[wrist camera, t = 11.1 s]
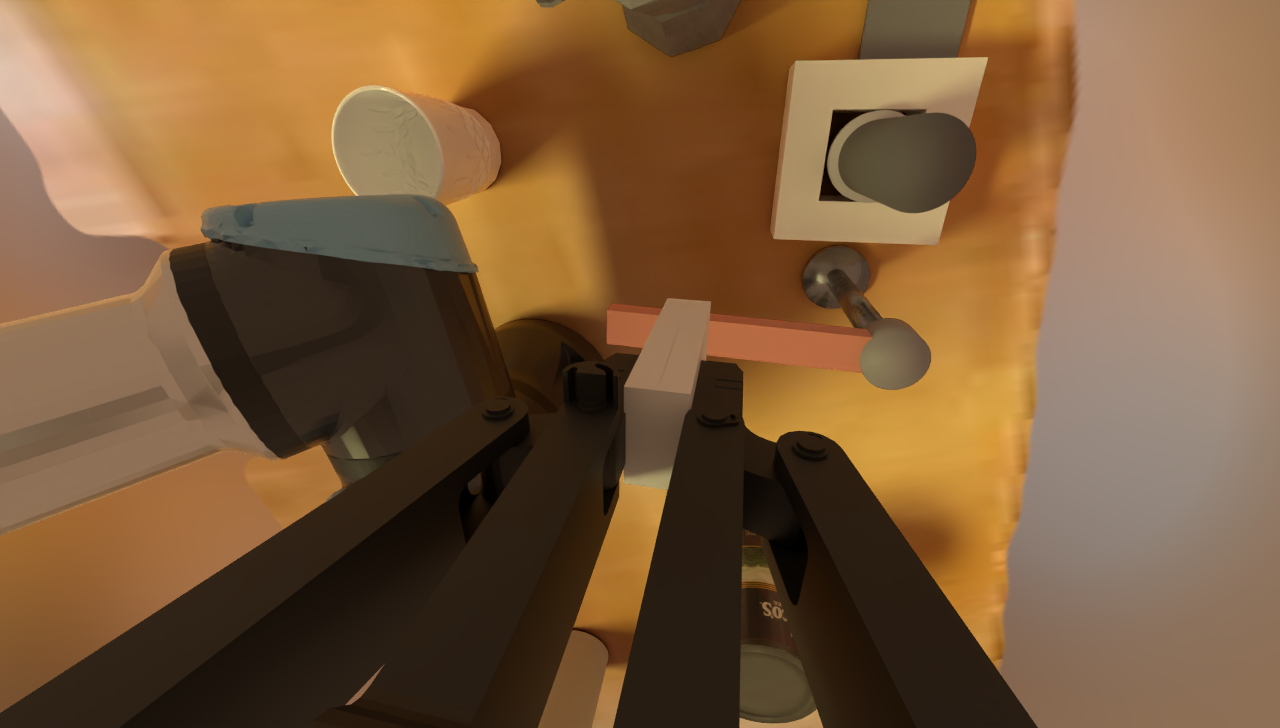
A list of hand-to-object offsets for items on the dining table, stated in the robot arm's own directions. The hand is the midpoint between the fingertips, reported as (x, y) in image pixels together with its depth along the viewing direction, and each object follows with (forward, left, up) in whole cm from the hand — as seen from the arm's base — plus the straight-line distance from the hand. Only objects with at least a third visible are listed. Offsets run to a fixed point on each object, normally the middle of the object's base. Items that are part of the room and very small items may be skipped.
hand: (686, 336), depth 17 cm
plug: (+5, -10, -25) cm, 27 cm away
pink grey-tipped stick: (-4, -3, -10) cm, 11 cm away
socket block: (+5, -10, -25) cm, 27 cm away
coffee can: (-36, -7, -25) cm, 44 cm away
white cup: (+5, +21, -25) cm, 33 cm away
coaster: (+13, -12, -25) cm, 30 cm away
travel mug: (-57, +14, -25) cm, 64 cm away
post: (-4, -10, -25) cm, 27 cm away
